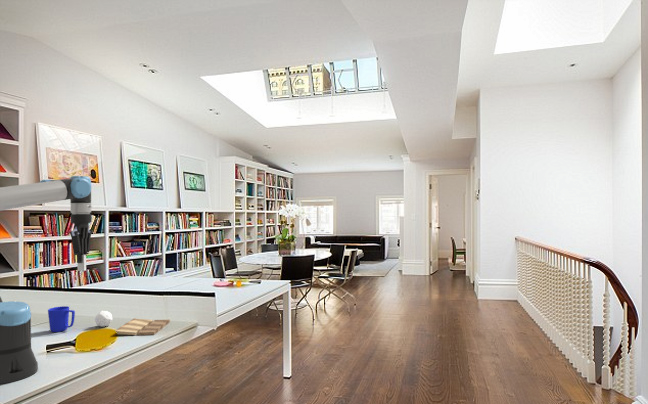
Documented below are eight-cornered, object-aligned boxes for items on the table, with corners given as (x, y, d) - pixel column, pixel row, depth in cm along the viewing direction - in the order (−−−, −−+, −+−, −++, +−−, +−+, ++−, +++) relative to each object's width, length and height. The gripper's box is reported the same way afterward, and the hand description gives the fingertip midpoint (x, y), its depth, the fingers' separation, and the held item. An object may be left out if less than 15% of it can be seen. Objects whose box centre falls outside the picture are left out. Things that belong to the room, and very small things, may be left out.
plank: (135, 335, 183) (135, 332, 183) (114, 333, 183) (114, 330, 183) (153, 322, 203) (153, 319, 203) (133, 321, 203) (134, 318, 203)
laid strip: (154, 334, 184) (154, 331, 184) (136, 335, 183) (136, 332, 183) (170, 322, 204) (169, 319, 204) (154, 322, 203) (154, 319, 203)
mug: (67, 333, 188) (66, 311, 188) (43, 332, 191) (43, 310, 191) (81, 328, 196) (80, 306, 196) (58, 327, 199) (58, 306, 199)
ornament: (93, 329, 194) (89, 313, 198) (105, 330, 201) (101, 315, 204) (105, 321, 194) (102, 305, 197) (117, 323, 200) (113, 308, 204)
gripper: (81, 213, 171) (82, 272, 171) (98, 213, 184) (99, 268, 184) (62, 214, 171) (63, 273, 171) (80, 213, 184) (81, 268, 184)
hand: (81, 270), depth 177 cm, fingers closed
